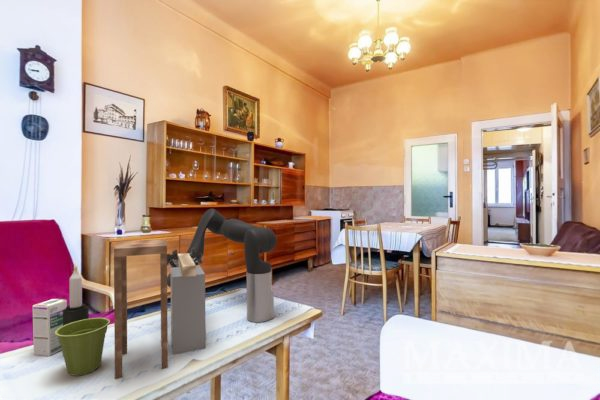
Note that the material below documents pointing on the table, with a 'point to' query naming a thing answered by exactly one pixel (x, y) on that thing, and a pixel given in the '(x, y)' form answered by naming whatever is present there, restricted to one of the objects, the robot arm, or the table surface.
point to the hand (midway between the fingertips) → (184, 251)
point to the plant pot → (83, 344)
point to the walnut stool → (121, 295)
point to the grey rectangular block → (187, 311)
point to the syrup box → (47, 326)
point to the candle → (75, 301)
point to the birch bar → (186, 265)
